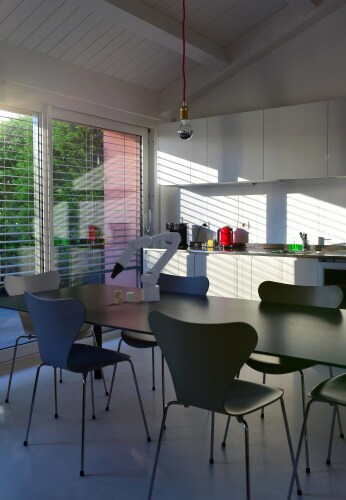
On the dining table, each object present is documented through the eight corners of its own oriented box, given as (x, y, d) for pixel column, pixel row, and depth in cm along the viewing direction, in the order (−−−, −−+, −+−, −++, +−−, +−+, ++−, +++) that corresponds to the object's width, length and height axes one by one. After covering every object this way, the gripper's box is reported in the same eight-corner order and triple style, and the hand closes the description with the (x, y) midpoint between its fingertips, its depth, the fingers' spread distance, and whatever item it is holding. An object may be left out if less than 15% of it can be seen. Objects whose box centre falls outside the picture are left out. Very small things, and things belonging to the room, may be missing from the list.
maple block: (121, 302, 295) (121, 290, 294) (122, 303, 291) (121, 291, 290) (114, 302, 294) (114, 290, 294) (115, 303, 290) (114, 291, 290)
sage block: (132, 300, 301) (132, 292, 300) (134, 301, 297) (134, 292, 297) (126, 301, 299) (125, 292, 299) (128, 302, 296) (128, 293, 295)
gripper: (118, 255, 298) (105, 275, 294) (121, 250, 284) (107, 270, 280) (128, 262, 298) (115, 282, 294) (131, 257, 284) (118, 278, 281)
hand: (112, 277), depth 287 cm, fingers open, 7 cm apart
